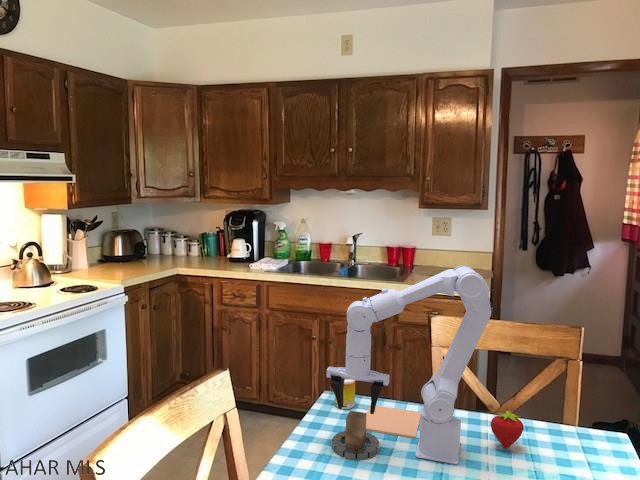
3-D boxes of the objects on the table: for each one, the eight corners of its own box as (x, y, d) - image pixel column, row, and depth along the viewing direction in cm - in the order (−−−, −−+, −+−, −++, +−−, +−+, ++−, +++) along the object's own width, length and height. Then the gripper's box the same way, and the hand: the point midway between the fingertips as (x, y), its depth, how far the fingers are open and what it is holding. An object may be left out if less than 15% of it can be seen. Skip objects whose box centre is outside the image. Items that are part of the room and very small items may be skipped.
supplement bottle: (358, 406, 143) (359, 371, 141) (343, 411, 139) (344, 375, 138) (345, 399, 147) (346, 365, 146) (330, 404, 143) (331, 369, 142)
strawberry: (486, 440, 126) (489, 401, 124) (518, 442, 125) (520, 403, 124) (492, 452, 120) (494, 412, 119) (525, 455, 119) (528, 414, 118)
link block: (365, 444, 122) (366, 412, 121) (361, 453, 118) (362, 420, 117) (349, 442, 123) (350, 410, 122) (345, 450, 119) (346, 417, 119)
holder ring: (382, 440, 124) (382, 434, 124) (373, 463, 114) (374, 457, 114) (338, 432, 128) (339, 427, 127) (326, 455, 117) (326, 448, 117)
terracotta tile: (421, 414, 139) (421, 412, 139) (415, 438, 126) (415, 436, 125) (370, 406, 143) (370, 404, 143) (359, 429, 130) (359, 427, 130)
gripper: (392, 351, 120) (390, 407, 121) (332, 344, 124) (331, 398, 126) (387, 362, 113) (384, 420, 115) (324, 354, 117) (323, 410, 119)
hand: (356, 409), depth 120 cm, fingers open, 7 cm apart
